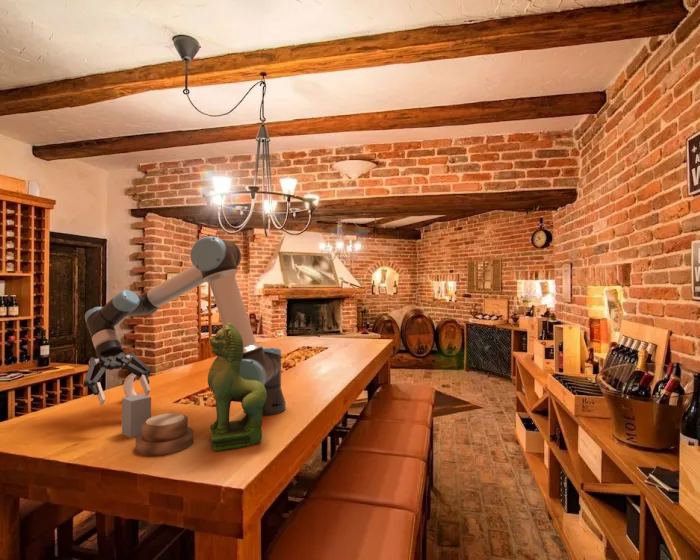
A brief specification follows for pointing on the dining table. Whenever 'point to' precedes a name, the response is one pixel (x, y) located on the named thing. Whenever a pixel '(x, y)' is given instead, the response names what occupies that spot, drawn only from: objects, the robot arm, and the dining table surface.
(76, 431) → the dining table surface
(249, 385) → the lion statue
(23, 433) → the dining table surface
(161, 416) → the walnut pedestal
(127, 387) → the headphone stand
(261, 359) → the robot arm
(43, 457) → the dining table surface
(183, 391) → the dining table surface
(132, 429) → the slate block
